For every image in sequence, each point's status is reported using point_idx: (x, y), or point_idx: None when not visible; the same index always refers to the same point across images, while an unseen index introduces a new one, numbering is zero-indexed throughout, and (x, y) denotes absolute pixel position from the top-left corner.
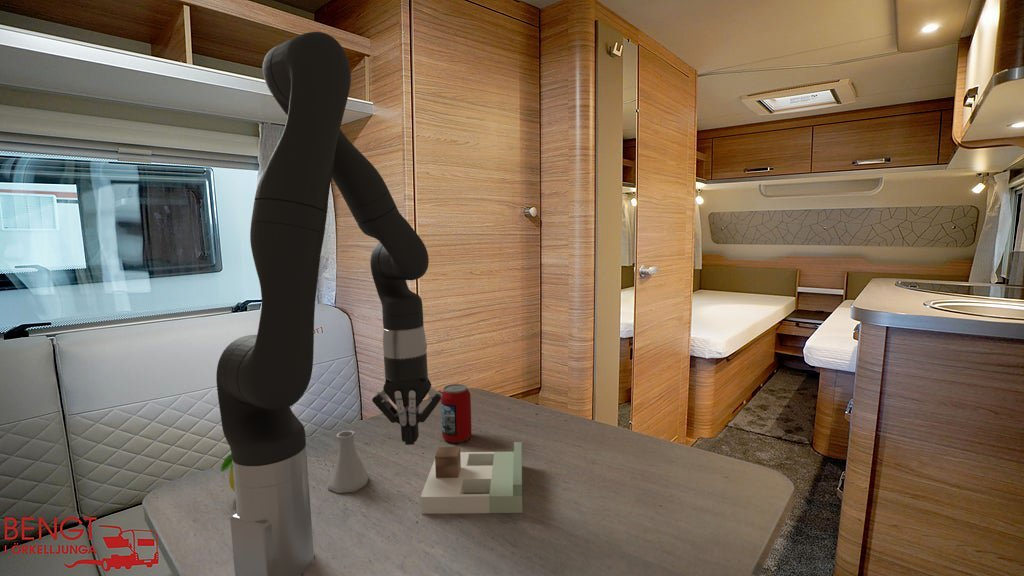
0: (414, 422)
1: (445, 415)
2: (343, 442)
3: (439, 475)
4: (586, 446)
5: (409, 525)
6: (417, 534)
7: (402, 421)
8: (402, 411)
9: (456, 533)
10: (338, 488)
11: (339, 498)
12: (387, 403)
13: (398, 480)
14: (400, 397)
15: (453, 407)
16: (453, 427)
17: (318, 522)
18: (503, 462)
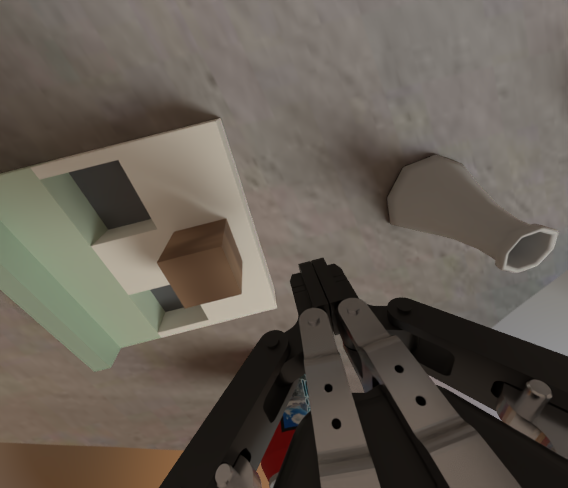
0: (304, 321)
1: (302, 401)
2: (518, 224)
3: (217, 223)
4: (49, 398)
5: (222, 58)
6: (178, 16)
7: (358, 313)
8: (377, 352)
9: (80, 45)
10: (441, 159)
11: (427, 138)
12: (483, 385)
13: (328, 229)
14: (443, 456)
15: (286, 425)
16: None
17: (449, 21)
18: (113, 310)
